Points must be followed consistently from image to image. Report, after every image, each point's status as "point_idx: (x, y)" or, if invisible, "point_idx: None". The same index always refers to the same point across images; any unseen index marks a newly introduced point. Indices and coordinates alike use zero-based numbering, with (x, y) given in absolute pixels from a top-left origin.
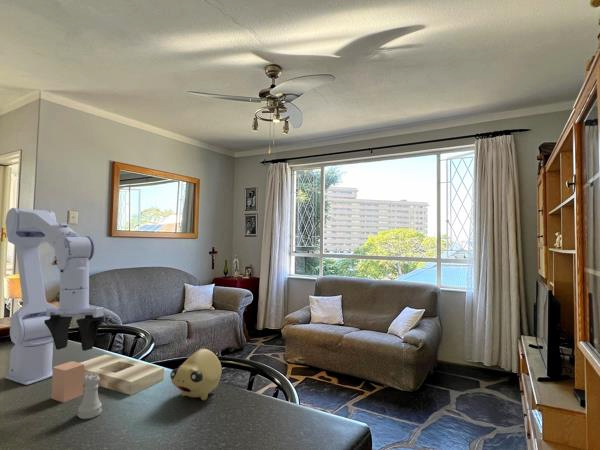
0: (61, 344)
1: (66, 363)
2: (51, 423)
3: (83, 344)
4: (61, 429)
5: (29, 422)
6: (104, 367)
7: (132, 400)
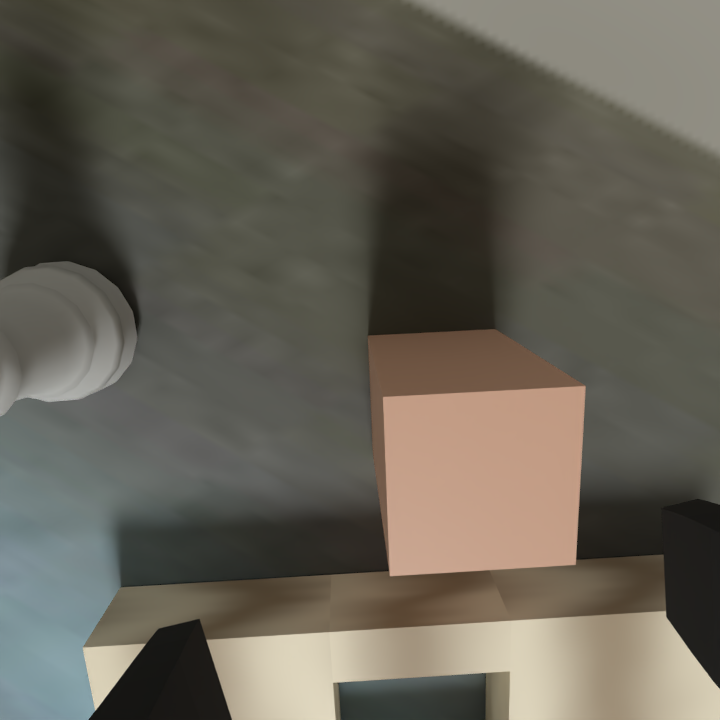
0: (710, 591)
1: (563, 505)
2: (150, 145)
3: (119, 696)
4: (22, 134)
5: (278, 80)
6: (507, 704)
7: (47, 552)
